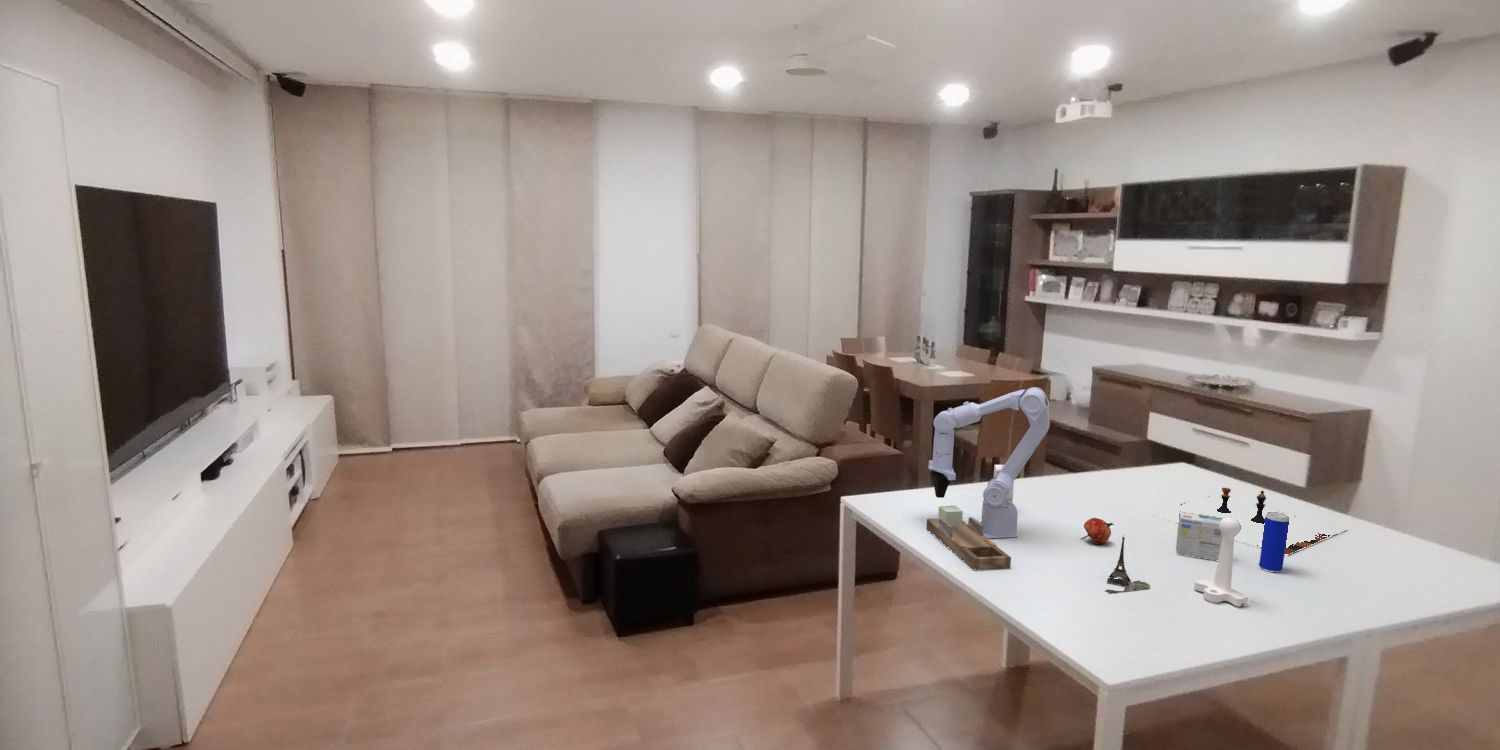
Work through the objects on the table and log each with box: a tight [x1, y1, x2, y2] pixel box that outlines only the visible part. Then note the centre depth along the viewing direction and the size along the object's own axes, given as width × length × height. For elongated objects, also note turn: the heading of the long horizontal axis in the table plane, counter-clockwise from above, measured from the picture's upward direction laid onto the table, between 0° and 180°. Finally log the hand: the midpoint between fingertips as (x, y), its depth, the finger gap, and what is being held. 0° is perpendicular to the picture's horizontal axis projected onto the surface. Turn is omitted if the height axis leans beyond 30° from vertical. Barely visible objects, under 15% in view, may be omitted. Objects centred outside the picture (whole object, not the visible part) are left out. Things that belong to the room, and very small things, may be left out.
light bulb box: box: [1175, 511, 1223, 561], centre depth 221 cm, size 11×7×11 cm, turn 65°
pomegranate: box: [1080, 517, 1114, 545], centre depth 229 cm, size 7×7×10 cm
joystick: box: [1193, 517, 1248, 607], centre depth 192 cm, size 11×8×20 cm
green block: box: [937, 505, 964, 527], centre depth 232 cm, size 5×5×4 cm
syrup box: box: [993, 464, 1015, 504], centre depth 253 cm, size 6×6×14 cm
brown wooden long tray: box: [926, 516, 1012, 571], centre depth 222 cm, size 10×30×6 cm, turn 11°
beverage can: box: [1258, 512, 1289, 573], centre depth 212 cm, size 5×5×15 cm
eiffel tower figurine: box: [1104, 535, 1151, 594], centre depth 201 cm, size 15×10×13 cm
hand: (939, 496), depth 239 cm, fingers closed
